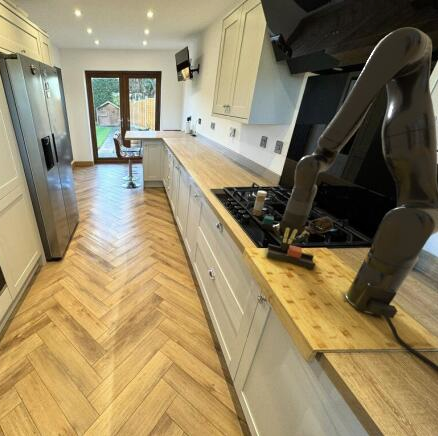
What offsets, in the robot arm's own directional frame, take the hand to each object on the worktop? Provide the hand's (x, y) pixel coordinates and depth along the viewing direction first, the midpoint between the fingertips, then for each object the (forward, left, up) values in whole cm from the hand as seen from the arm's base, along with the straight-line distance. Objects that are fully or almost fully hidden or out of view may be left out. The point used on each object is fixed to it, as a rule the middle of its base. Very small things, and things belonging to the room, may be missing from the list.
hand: (283, 250), depth 93 cm
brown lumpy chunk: (+35, -15, -4) cm, 38 cm away
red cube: (0, -4, -2) cm, 4 cm away
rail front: (0, -3, -4) cm, 4 cm away
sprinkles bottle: (+40, +13, -4) cm, 42 cm away
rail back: (+26, +1, -4) cm, 26 cm away
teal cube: (+26, +7, -2) cm, 27 cm away
